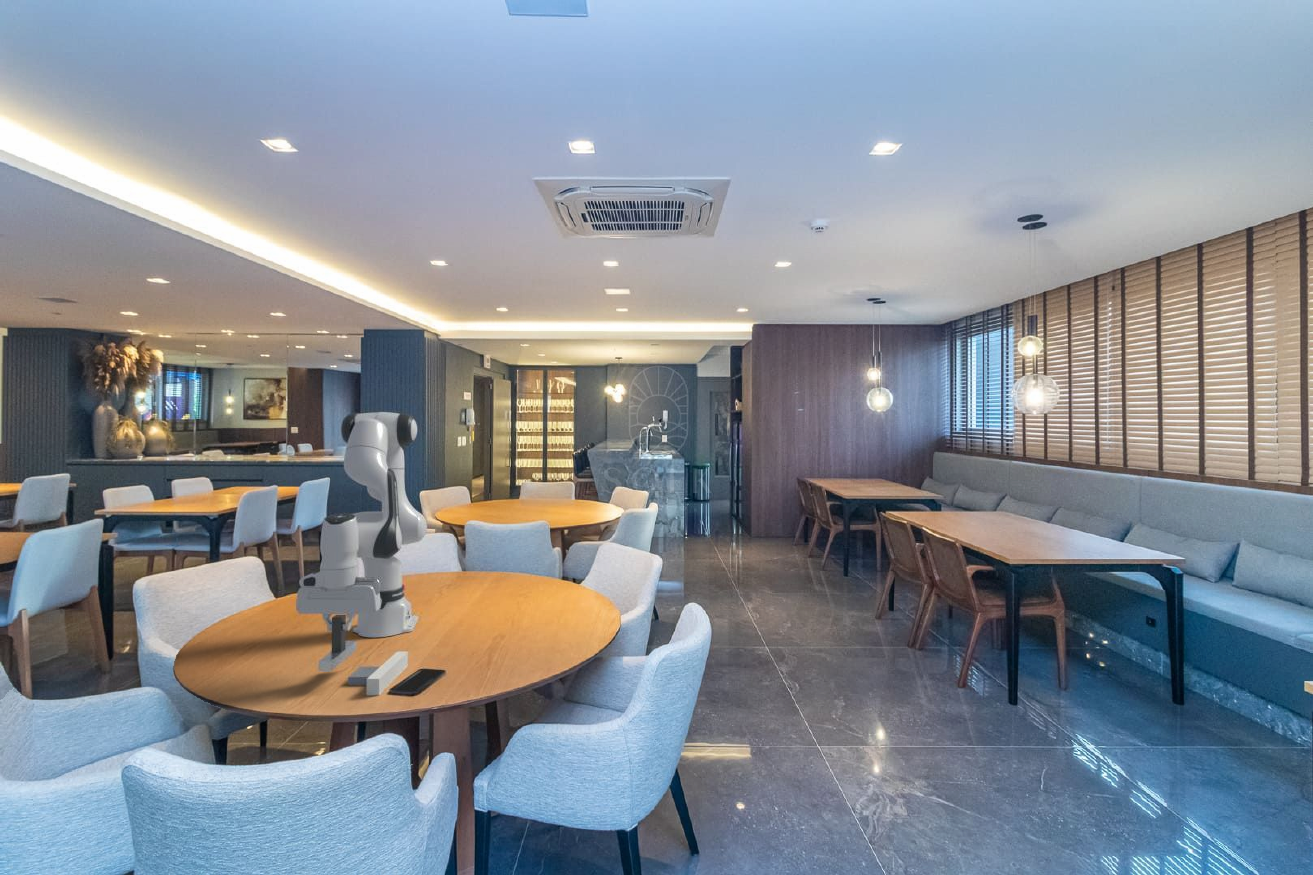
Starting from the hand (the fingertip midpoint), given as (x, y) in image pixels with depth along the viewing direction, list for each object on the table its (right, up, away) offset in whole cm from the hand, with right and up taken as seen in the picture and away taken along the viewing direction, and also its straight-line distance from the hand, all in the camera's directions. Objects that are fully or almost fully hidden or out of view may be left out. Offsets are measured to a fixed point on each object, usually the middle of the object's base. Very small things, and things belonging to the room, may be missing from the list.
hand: (338, 629), depth 155 cm
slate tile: (+8, -13, 0) cm, 15 cm away
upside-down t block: (0, -8, 0) cm, 8 cm away
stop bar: (+13, -13, 0) cm, 18 cm away
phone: (+22, -14, -2) cm, 25 cm away
